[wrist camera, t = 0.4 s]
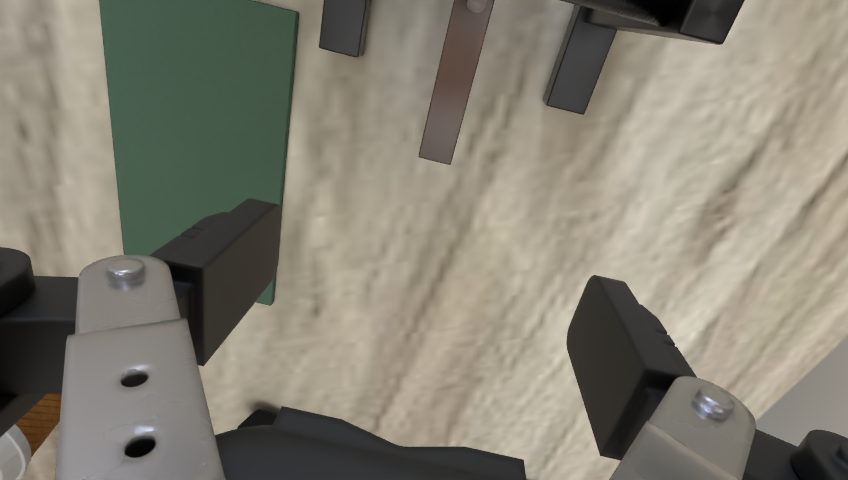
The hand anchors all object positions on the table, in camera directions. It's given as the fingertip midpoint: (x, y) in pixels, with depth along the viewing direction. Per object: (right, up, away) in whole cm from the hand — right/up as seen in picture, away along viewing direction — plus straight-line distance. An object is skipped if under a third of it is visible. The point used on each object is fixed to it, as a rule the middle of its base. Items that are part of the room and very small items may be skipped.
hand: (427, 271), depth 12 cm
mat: (-16, +7, +21) cm, 27 cm away
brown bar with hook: (+3, +14, +11) cm, 18 cm away
